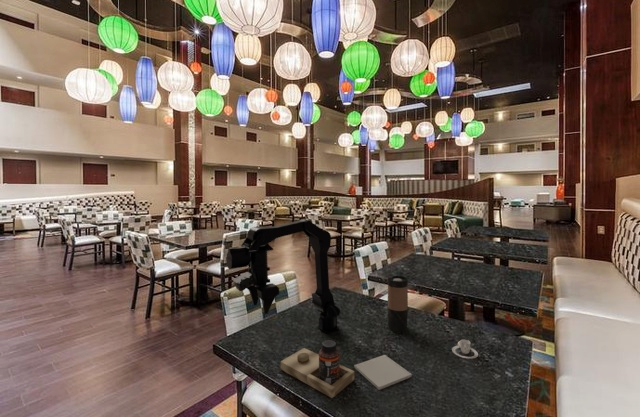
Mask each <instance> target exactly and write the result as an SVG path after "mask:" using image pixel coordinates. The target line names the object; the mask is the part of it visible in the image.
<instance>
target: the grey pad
mask: <svg viewBox="0 0 640 417" xmlns="http://www.w3.org/2000/svg"><path fill="white" fill-rule="evenodd" d="M354 369H355V370H356V371H357V372H359V374H361V375H362V376H363V377H364V378H365V379H366V380H367V381H368V382H370V384H371V385H373V386H374V387H375V388H376V389H377V390H378V391H381V390H382V389H385V388H388V387H390V386H392V385H395V384H398V383H400V382H402V381H404V380H408V379H409V378H412V373H410V372H409V371H407V369H405V368H404V367H402V366H401V365H400V364H398V363H397V362H395V361H394V360H393V359H392V358H390V357H388V355H386V354H383V355H380V356H377V357H375V358H374V357H373V358H371V359H369V360H366V361H364V362H363V361H362V362H360V363H357V364H354Z"/></svg>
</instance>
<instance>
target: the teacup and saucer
mask: <svg viewBox="0 0 640 417" xmlns="http://www.w3.org/2000/svg"><path fill="white" fill-rule="evenodd" d="M459 348H460V352H461V353H462V354H464V355H468V354H469V353H470V352H473V353H474V355H471V356H464V355H461V354H459V353H458V352H457V349H459ZM451 350H452V353H453V354H455V355H456V356H458V357H460V358H463V359H477V357H479V353H478V351H477V350H476V349H475V348H472V347H471V341H470V340H469V339H460V340H459V341H458V342H457V345H455V346H453V347H451Z"/></svg>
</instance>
